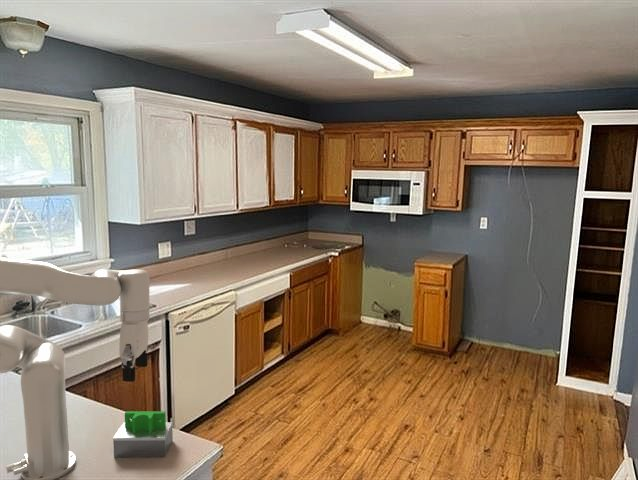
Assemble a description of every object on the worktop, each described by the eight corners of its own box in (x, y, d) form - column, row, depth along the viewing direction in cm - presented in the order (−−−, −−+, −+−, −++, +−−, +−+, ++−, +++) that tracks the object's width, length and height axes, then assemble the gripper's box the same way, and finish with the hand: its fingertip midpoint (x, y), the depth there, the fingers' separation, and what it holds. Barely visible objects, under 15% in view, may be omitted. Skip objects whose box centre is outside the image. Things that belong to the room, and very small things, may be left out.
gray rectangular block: (114, 457, 129) (113, 437, 129) (124, 441, 137) (123, 422, 136) (165, 457, 130) (164, 437, 129) (172, 441, 138) (172, 422, 137)
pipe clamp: (121, 433, 131) (120, 418, 130) (126, 426, 135) (125, 411, 134) (162, 433, 132) (161, 417, 131) (165, 425, 135) (165, 411, 135)
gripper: (132, 305, 137) (133, 360, 140) (108, 324, 120) (109, 386, 122) (158, 306, 137) (158, 361, 140) (137, 325, 120) (138, 387, 123)
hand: (135, 373), depth 131 cm, fingers open, 9 cm apart
